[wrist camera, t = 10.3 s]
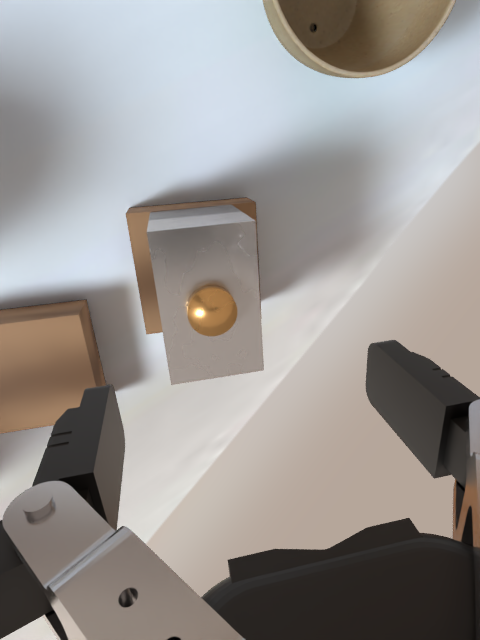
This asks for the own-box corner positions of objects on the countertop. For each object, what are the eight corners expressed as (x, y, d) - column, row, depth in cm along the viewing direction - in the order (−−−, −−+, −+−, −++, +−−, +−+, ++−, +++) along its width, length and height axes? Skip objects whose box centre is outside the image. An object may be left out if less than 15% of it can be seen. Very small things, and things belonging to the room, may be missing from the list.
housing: (150, 212, 24) (146, 235, 17) (231, 204, 25) (259, 223, 18) (168, 331, 27) (171, 393, 20) (240, 321, 28) (267, 377, 21)
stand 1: (-35, 314, 28) (-57, 331, 25) (86, 299, 29) (78, 314, 26) (0, 411, 31) (-16, 436, 28) (108, 394, 32) (103, 417, 29)
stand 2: (129, 208, 27) (125, 213, 24) (246, 197, 28) (255, 201, 25) (147, 318, 30) (146, 334, 27) (252, 304, 31) (261, 319, 28)
